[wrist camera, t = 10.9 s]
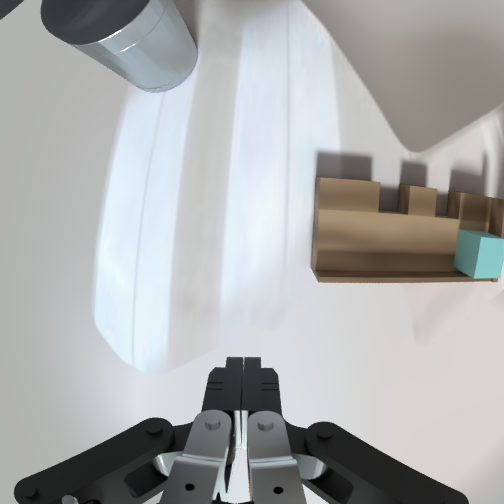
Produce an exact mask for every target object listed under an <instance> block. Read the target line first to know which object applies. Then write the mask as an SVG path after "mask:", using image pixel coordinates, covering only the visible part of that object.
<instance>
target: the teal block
mask: <svg viewBox="0 0 504 504" xmlns="http://www.w3.org/2000/svg"><path fill="white" fill-rule="evenodd" d="M503 259H504V238H501V237H499V236H496V235H493V234H490V233H487V232H483V231H473V230H463V229H459V230H458V238H457V245H456V251H455V257H454V263H453V267H454V268H456V269H458V270H460V271H462V272H463V273H465V274H467V275H469V276H470V277H472V278H500V274H501V269H502V264H503Z"/></svg>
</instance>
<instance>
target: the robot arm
mask: <svg viewBox="0 0 504 504" xmlns="http://www.w3.org/2000/svg"><path fill="white" fill-rule="evenodd" d="M23 1H24V0H0V20H1V19H2V18H3V17H5V16H6V15H7V14H8V13H10V12H11V11H12V10H13V9H15V8H16V7H17V6H18V5H19V4H20V3H22V2H23ZM41 19H42V22H43V24H44V26H45V27H46V29H47V30H48V31H49V32H50V33H51V34H53V35H54V36H55V37H57V38H59V39H61V40H62V41H64V42H66V43H68V44H70V45H71V46H73V47H75V48H77V49H78V50H80V51H82V52H83V53H85V54H87V55H88V56H90V57H92V58H93V59H95V60H96V61H98V62H100V63H101V64H103V65H104V66H106V67H107V68H109V69H111V70H112V71H114V72H115V73H117V74H118V75H120V76H121V77H123V78H124V79H126V80H127V81H129V82H130V83H132V84H133V85H135V86H136V87H138V88H140V89H142V90H144V91H148V92H162V91H167V90H169V89H172V88H174V87H176V86H178V85H179V84H181V83H182V82H183V81H184V80H185V79H186V78H187V77H188V76H189V75H190V74H191V72H192V70H193V69H194V67H195V64H196V61H197V48H196V45H195V43H194V41H193V39H192V37H191V35H190V33H189V30H188V27H187V25H186V23H185V21H184V20H183V18H182V16H181V14H180V12H179V10H178V8H177V6H176V4H175V2H174V0H42V5H41ZM242 436H243V437H242ZM242 438H243V449H247V466H248V480H249V492H250V501H249V502H244V503H238V504H307V503H306V498H305V494H304V490H303V486H302V484H304V485H305V486H306V487H308V488H309V489H310V490H312V491H313V492H314V493H315V494H317V495H318V496H320V497H321V498H322V499H324V500H325V501H326V502H328V503H329V504H469V502H468V499H467V497H466V496H465V495H464V494H463V493H461V492H459V491H457V490H455V489H453V488H451V487H448V486H446V485H444V484H442V483H440V482H438V481H436V480H434V479H432V478H430V477H428V476H426V475H424V474H422V473H420V472H418V471H416V470H414V469H412V468H410V467H408V466H407V465H405V464H403V463H401V462H399V461H397V460H395V459H394V458H392V457H390V456H388V455H387V454H385V453H383V452H381V451H379V450H378V449H375V448H374V447H373V446H370V445H369V444H367V443H366V442H364V441H362V440H361V439H359V438H357V437H356V436H354V435H352V434H350V433H349V432H347V431H346V430H344V429H343V428H341V427H339V426H338V425H336V424H334V423H330V422H318V423H314V424H312V425H311V426H309V427H308V428H307V429H306V428H301V427H297V426H294V425H291V424H289V423H288V422H287V421H285V419H284V418H283V416H282V410H281V400H280V391H279V380H278V374H277V373H276V372H275V371H274V369H273V368H261V358H260V357H245V360H244V365H243V357H227V360H226V367H225V368H220V367H215V368H214V369H213V370H212V371H211V372H210V374H209V377H208V382H207V386H206V391H205V396H204V401H203V406H202V411H201V413H199V414H198V415H197V416H196V417H195V419H194V421H193V422H191V423H188V424H185V425H178V426H172V424H171V423H170V422H169V421H167V420H165V419H163V418H149V419H146V420H144V421H142V422H140V423H138V424H137V425H135V426H133V427H131V428H129V429H127V430H126V431H124V432H122V433H120V434H118V435H116V436H114V437H112V438H110V439H108V440H106V441H104V442H103V443H101V444H99V445H97V446H95V447H93V448H91V449H88V450H87V451H84V452H82V453H80V454H78V455H76V456H74V457H72V458H70V459H68V460H65V461H63V462H61V463H59V464H57V465H54V466H52V467H50V468H48V469H45V470H43V471H41V472H38V473H36V474H34V475H31V476H29V477H26V478H24V479H22V480H20V481H19V482H18V483H17V484H16V486H15V488H14V496H15V499H16V501H17V502H18V503H19V504H142V503H144V502H146V501H147V500H149V499H150V498H152V497H153V496H155V495H157V494H158V493H160V492H161V491H163V490H164V491H163V494H162V497H161V500H160V502H159V503H157V504H232V503H228V496H229V490H230V484H231V479H232V473H233V467H234V459H235V451H236V449H241V442H242Z"/></svg>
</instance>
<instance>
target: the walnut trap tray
mask: <svg viewBox="0 0 504 504" xmlns="http://www.w3.org/2000/svg"><path fill="white" fill-rule="evenodd" d="M379 193H380V182H374V181H363V180H351V179H338V178H323V177H316V183H315V206H314V224H313V241H312V255H311V269H312V271H313V273H314V275H315V276H316V278H317V280H318V282H330V283H420V282H475V281H492V282H497V281H498V278H472V277H470V276H469V275H467V274H465V273H463V272H462V271H460V270H458V269H456V268H454V267H453V263H454V257H455V251H456V245H457V238H458V230H459V229H463V230H473V231H483V232H487V233H490V234H493V235H496V236H499V237H501V238H504V200H502V199H497V198H492V197H486V196H480V195H474V194H468V193H462V192H455V191H449V195H448V208H447V216H441V215H435V210H436V198H437V189H434V188H427V187H419V186H411V185H402V184H400V186H399V202H398V212H396V211H382V210H378V208H379Z"/></svg>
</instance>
